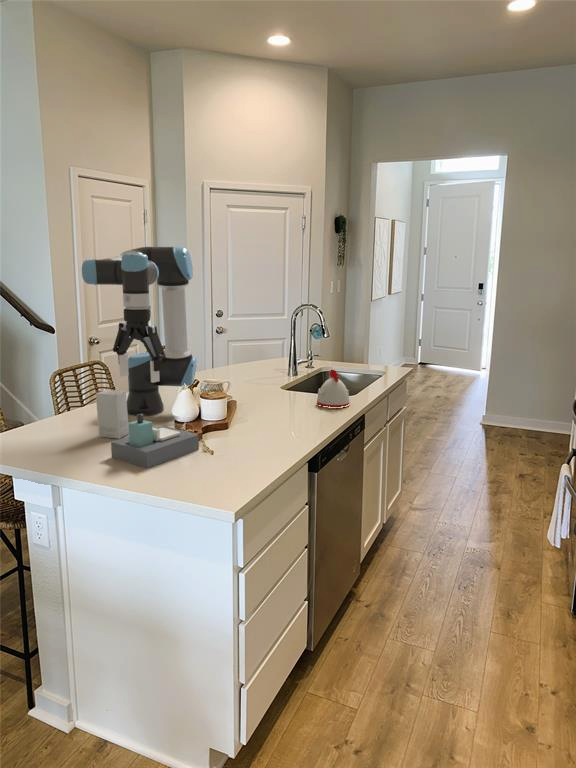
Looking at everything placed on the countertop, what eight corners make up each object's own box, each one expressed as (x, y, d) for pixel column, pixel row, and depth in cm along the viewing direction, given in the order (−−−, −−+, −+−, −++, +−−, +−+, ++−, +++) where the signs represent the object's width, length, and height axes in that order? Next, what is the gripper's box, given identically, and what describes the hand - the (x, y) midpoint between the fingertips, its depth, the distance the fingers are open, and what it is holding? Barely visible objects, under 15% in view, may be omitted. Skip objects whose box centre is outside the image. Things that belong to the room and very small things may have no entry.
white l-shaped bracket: (141, 436, 185) (140, 426, 184) (162, 429, 192) (162, 419, 192) (159, 441, 180) (159, 430, 180) (181, 434, 188) (180, 424, 187)
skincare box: (129, 434, 205) (127, 390, 201) (118, 439, 199) (116, 395, 195) (109, 431, 207) (107, 388, 204) (97, 436, 201) (95, 392, 198)
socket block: (111, 457, 181) (110, 441, 180) (164, 440, 199) (163, 425, 198) (147, 468, 172) (146, 452, 171) (198, 449, 190) (198, 434, 189)
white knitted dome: (341, 399, 259) (342, 366, 256) (354, 407, 247) (356, 372, 243) (312, 401, 255) (313, 368, 252) (323, 409, 242) (325, 374, 239)
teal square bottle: (129, 451, 180) (128, 414, 177) (142, 447, 184) (140, 411, 181) (140, 454, 177) (139, 417, 174) (153, 450, 181) (152, 414, 178)
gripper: (98, 305, 175) (102, 375, 180) (156, 311, 162) (159, 386, 166) (118, 304, 181) (121, 371, 186) (176, 309, 168) (178, 382, 172)
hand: (139, 378), depth 176 cm, fingers open, 13 cm apart
